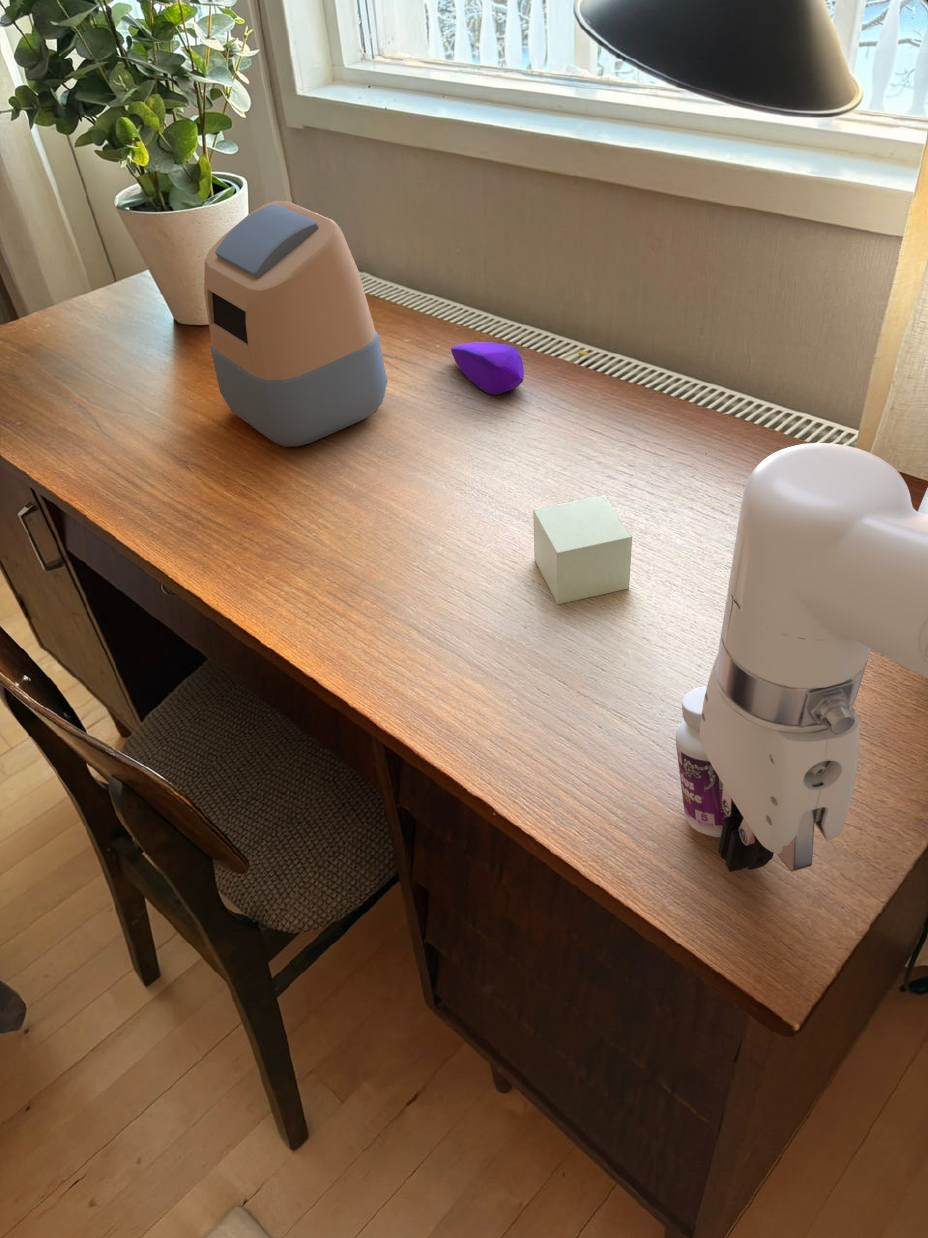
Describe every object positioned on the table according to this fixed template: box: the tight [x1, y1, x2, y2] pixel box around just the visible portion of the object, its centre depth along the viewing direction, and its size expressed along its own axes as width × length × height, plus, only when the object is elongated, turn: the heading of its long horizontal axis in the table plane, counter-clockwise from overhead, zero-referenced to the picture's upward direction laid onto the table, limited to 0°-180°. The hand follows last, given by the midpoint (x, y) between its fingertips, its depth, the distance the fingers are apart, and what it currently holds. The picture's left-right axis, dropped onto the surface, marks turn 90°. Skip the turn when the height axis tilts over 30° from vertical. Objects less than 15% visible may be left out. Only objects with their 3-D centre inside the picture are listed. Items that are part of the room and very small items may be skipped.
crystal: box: [450, 341, 525, 396], centre depth 118 cm, size 5×5×15 cm
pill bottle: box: [675, 685, 729, 838], centre depth 65 cm, size 5×5×10 cm
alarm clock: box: [203, 200, 388, 447], centre depth 108 cm, size 17×17×23 cm
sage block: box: [532, 494, 633, 605], centre depth 87 cm, size 7×7×6 cm
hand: (744, 856), depth 63 cm, fingers closed
